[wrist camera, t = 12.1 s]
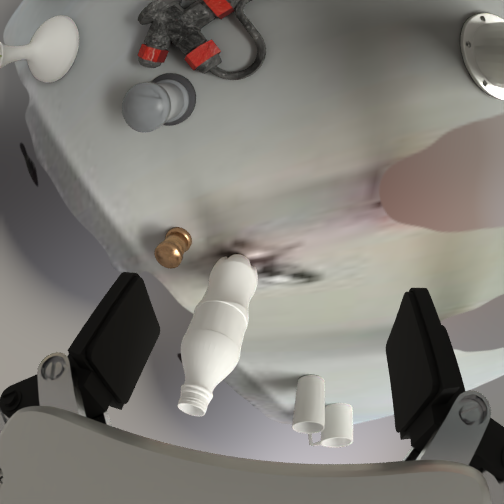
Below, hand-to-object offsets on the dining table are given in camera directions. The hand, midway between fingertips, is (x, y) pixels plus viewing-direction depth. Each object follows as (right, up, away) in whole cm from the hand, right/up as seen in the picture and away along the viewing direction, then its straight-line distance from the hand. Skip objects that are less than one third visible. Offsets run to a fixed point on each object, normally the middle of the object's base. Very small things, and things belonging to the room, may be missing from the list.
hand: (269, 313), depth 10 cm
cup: (+20, -40, +61) cm, 76 cm away
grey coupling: (-11, +22, +24) cm, 34 cm away
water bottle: (-3, 0, +38) cm, 38 cm away
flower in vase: (-30, +34, +20) cm, 49 cm away
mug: (+14, -28, +54) cm, 62 cm away
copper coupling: (-12, +4, +37) cm, 39 cm away
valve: (-2, +30, +18) cm, 35 cm away
